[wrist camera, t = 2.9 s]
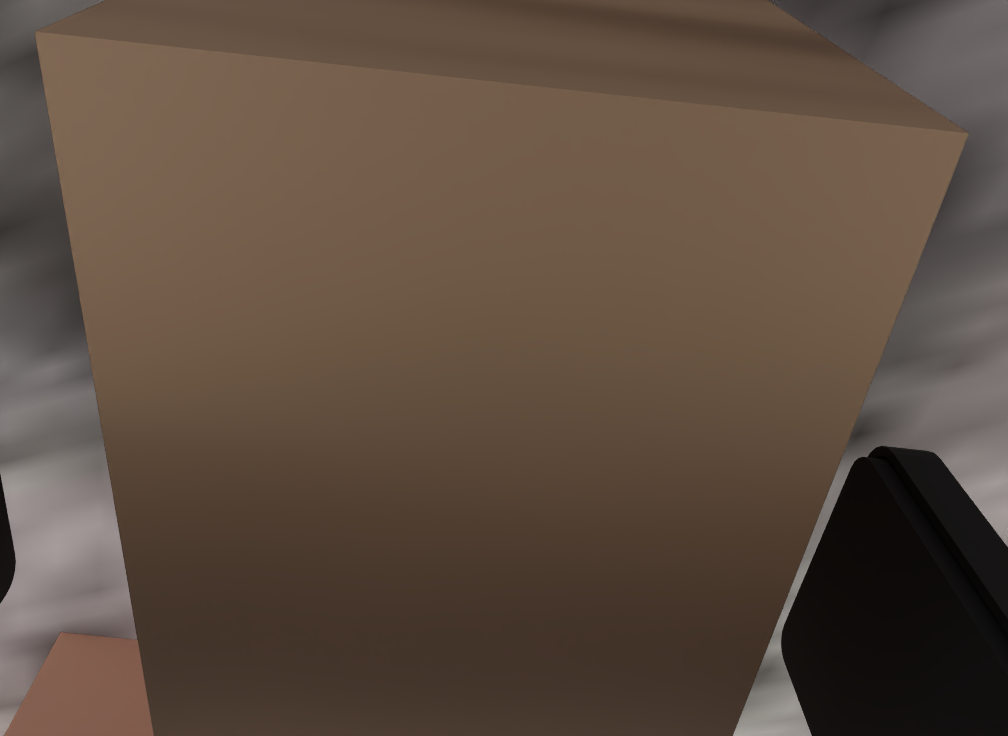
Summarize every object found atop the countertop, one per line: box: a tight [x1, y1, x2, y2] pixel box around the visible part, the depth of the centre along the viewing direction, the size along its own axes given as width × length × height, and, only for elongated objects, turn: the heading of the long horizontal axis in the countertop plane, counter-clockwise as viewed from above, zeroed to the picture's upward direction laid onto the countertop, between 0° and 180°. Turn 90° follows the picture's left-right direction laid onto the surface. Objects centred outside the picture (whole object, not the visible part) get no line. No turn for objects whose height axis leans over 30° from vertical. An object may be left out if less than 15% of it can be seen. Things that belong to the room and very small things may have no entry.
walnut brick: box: [35, 0, 969, 736], centre depth 10 cm, size 9×5×6 cm, turn 174°
